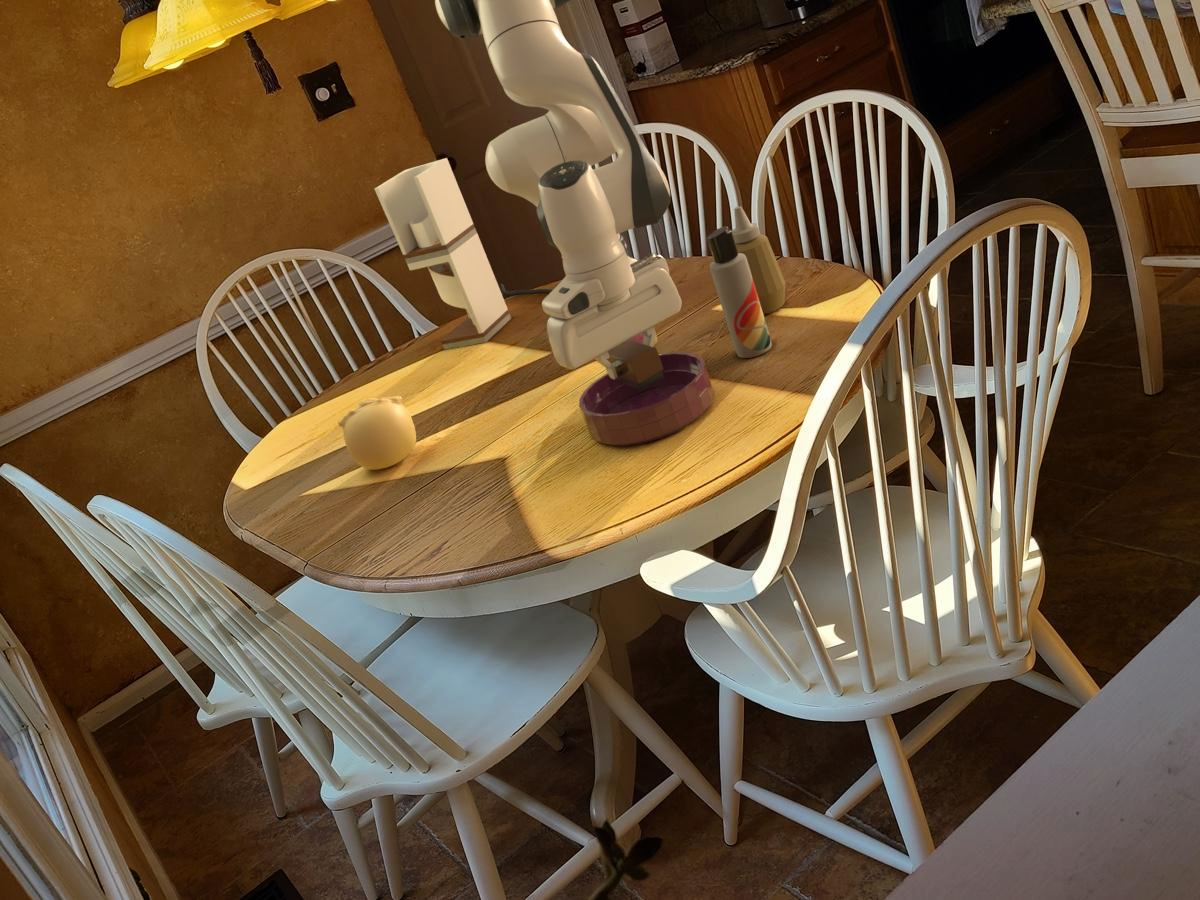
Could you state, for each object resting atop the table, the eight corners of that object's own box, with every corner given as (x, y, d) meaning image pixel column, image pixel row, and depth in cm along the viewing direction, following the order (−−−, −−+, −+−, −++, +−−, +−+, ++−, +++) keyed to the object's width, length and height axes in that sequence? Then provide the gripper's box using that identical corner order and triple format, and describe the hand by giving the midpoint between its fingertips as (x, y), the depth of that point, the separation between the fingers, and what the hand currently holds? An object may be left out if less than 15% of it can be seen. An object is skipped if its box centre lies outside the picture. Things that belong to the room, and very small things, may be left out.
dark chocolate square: (610, 380, 163) (599, 352, 162) (634, 366, 165) (624, 338, 163) (641, 391, 156) (630, 362, 154) (666, 377, 157) (656, 347, 155)
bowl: (569, 432, 169) (557, 400, 167) (670, 375, 175) (659, 344, 173) (632, 461, 153) (619, 426, 150) (741, 397, 159) (730, 363, 157)
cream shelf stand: (470, 326, 238) (404, 170, 224) (511, 318, 233) (446, 157, 219) (444, 349, 229) (374, 188, 215) (486, 342, 224) (417, 176, 210)
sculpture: (421, 433, 190) (396, 378, 186) (426, 458, 179) (399, 400, 175) (358, 459, 190) (331, 404, 185) (359, 486, 179) (331, 428, 174)
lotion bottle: (774, 351, 170) (738, 228, 162) (738, 362, 170) (700, 241, 162) (770, 338, 175) (734, 219, 167) (735, 349, 176) (698, 231, 167)
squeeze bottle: (792, 293, 189) (764, 193, 182) (789, 311, 182) (760, 208, 175) (746, 305, 192) (716, 206, 184) (742, 323, 185) (710, 221, 177)
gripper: (650, 246, 160) (678, 332, 166) (531, 308, 153) (565, 395, 159) (673, 250, 155) (702, 338, 160) (551, 314, 148) (585, 404, 154)
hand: (633, 367), depth 160 cm, fingers closed on dark chocolate square, 4 cm apart
